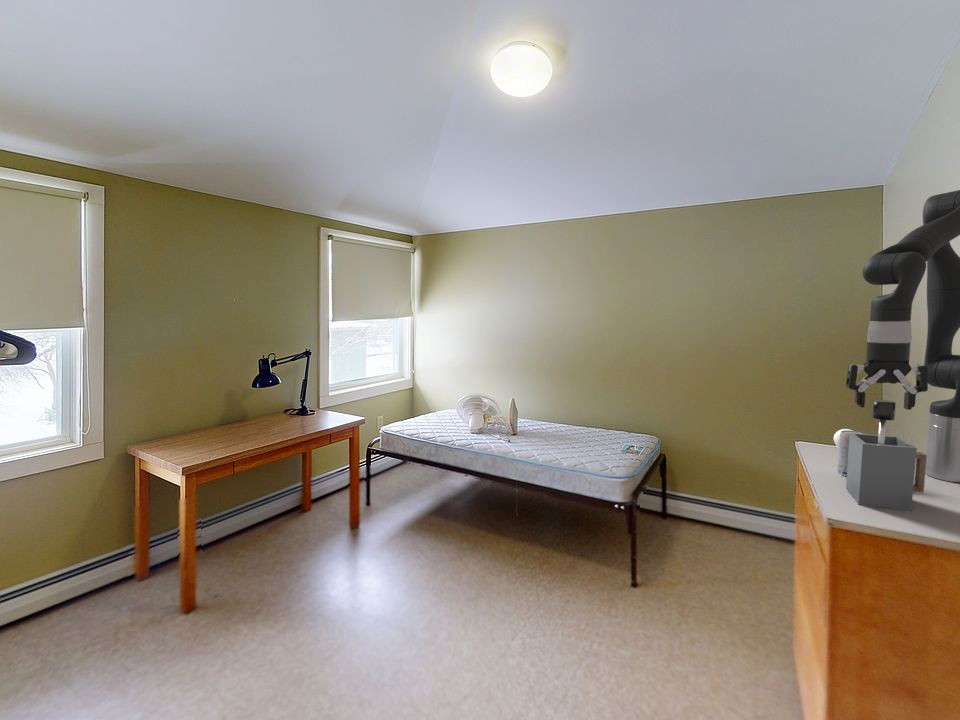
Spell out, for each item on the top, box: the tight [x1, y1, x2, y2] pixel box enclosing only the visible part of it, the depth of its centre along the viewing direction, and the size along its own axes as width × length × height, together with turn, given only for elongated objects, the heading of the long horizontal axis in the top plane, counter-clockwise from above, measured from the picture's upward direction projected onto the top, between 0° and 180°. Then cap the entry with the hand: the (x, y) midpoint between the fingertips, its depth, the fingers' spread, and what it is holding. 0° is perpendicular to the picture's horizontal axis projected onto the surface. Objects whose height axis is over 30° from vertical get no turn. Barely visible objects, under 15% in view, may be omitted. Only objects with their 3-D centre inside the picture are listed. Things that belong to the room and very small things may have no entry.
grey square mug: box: [845, 433, 927, 512], centre depth 107 cm, size 13×10×15 cm
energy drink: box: [837, 430, 864, 477], centre depth 123 cm, size 5×5×12 cm
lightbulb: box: [833, 428, 854, 451], centre depth 130 cm, size 6×6×11 cm
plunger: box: [871, 399, 896, 445], centre depth 107 cm, size 7×7×21 cm
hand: (883, 407), depth 105 cm, fingers open, 8 cm apart
